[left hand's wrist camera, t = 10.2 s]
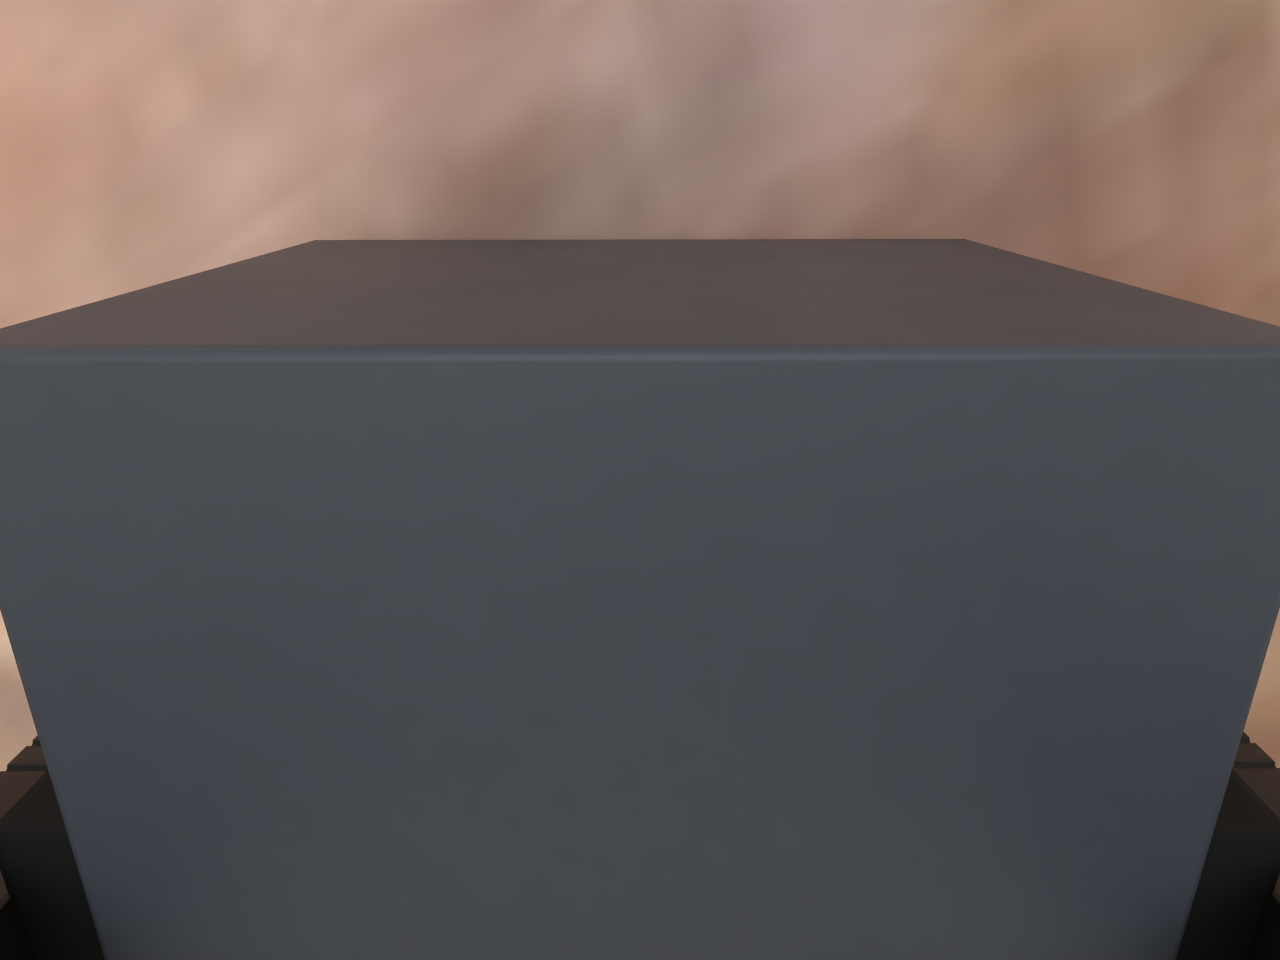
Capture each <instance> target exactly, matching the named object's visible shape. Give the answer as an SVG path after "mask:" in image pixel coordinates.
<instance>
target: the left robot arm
mask: <svg viewBox="0 0 1280 960" xmlns="http://www.w3.org/2000/svg"><path fill="white" fill-rule="evenodd" d="M0 960H105V958H104V955H103V952H102V948H101V945H100V942H99V938H98V935H97V931H96V928H95V925H94V921H93V918H92V915H91V911H90V908H89V905H88V901H87V898H86V895H85V891H84V888H83V885H82V881H81V878H80V874H79V871H78V868H77V864H76V861H75V858H74V854H73V851H72V848H71V844H70V841H69V838H68V834H67V831H66V828H65V824H64V821H63V817H62V814H61V811H60V807H59V804H58V801H57V797H56V794H55V791H54V787H53V784H52V781H51V777H50V774H49V771H48V767H47V764H46V760H45V757H44V754H43V750H42V747H41V744H40V740H39V737H38V736H37V737H36V738H35V739H34V740H33V744H32V746H26V747H25V748H24V749H23V750H22V751H21V752H20V753H19V754H18V755H17V756H16V757H15V758H14V759H13V760H12V761H11V762H10V763H9V764H8V765H7V770H6V771H1V772H0ZM1176 960H1280V768H1276V767H1275V762H1274V761H1273V760H1272V759H1271V758H1270V757H1269V756H1268V755H1267V754H1266V753H1265V752H1264V751H1263V750H1262V749H1261V748H1260V747H1259V746H1258V745H1257V744H1256V743H1250V741H1249V737H1248V736H1247V735H1246V734H1245V733H1244V732H1243V733H1242V737H1241V740H1240V743H1239V747H1238V750H1237V754H1236V757H1235V760H1234V764H1233V767H1232V771H1231V774H1230V777H1229V781H1228V784H1227V788H1226V791H1225V794H1224V798H1223V801H1222V805H1221V808H1220V811H1219V815H1218V818H1217V822H1216V825H1215V828H1214V832H1213V835H1212V839H1211V842H1210V846H1209V849H1208V852H1207V856H1206V859H1205V863H1204V866H1203V869H1202V873H1201V876H1200V880H1199V883H1198V886H1197V890H1196V893H1195V897H1194V900H1193V903H1192V907H1191V910H1190V914H1189V917H1188V920H1187V924H1186V927H1185V931H1184V934H1183V937H1182V941H1181V944H1180V948H1179V951H1178V954H1177V958H1176Z"/></svg>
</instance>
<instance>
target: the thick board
mask: <svg viewBox="0 0 1280 960" xmlns="http://www.w3.org/2000/svg"><path fill="white" fill-rule="evenodd" d="M1279 607H1280V327H1279V326H1275V325H1271V324H1268V323H1264V322H1261V321H1257V320H1253V319H1250V318H1246V317H1243V316H1239V315H1235V314H1232V313H1228V312H1225V311H1221V310H1217V309H1214V308H1210V307H1207V306H1203V305H1199V304H1196V303H1192V302H1189V301H1185V300H1181V299H1178V298H1174V297H1171V296H1167V295H1163V294H1160V293H1156V292H1153V291H1149V290H1145V289H1142V288H1138V287H1135V286H1131V285H1127V284H1124V283H1120V282H1117V281H1113V280H1109V279H1106V278H1102V277H1099V276H1095V275H1091V274H1088V273H1084V272H1081V271H1077V270H1073V269H1070V268H1066V267H1063V266H1059V265H1055V264H1052V263H1048V262H1045V261H1041V260H1037V259H1034V258H1030V257H1027V256H1023V255H1019V254H1016V253H1012V252H1009V251H1005V250H1001V249H998V248H994V247H991V246H987V245H983V244H980V243H976V242H973V241H969V240H965V239H783V240H315V241H311V242H308V243H304V244H300V245H297V246H293V247H290V248H286V249H283V250H279V251H275V252H272V253H268V254H265V255H261V256H258V257H254V258H251V259H247V260H243V261H240V262H236V263H233V264H229V265H226V266H222V267H218V268H215V269H211V270H208V271H204V272H201V273H197V274H194V275H190V276H186V277H183V278H179V279H176V280H172V281H169V282H165V283H162V284H158V285H154V286H151V287H147V288H144V289H140V290H137V291H133V292H129V293H126V294H122V295H119V296H115V297H112V298H108V299H105V300H101V301H97V302H94V303H90V304H87V305H83V306H80V307H76V308H72V309H69V310H65V311H62V312H58V313H55V314H51V315H48V316H44V317H40V318H37V319H33V320H30V321H26V322H23V323H19V324H16V325H12V326H8V327H5V328H1V329H0V610H1V613H2V616H3V620H4V623H5V626H6V630H7V633H8V636H9V640H10V643H11V646H12V650H13V653H14V657H15V660H16V663H17V667H18V670H19V673H20V677H21V680H22V683H23V687H24V690H25V693H26V697H27V700H28V703H29V707H30V710H31V714H32V717H33V720H34V724H35V727H36V730H37V734H38V737H39V740H40V744H41V747H42V750H43V754H44V757H45V760H46V764H47V767H48V771H49V774H50V777H51V781H52V784H53V787H54V791H55V794H56V797H57V801H58V804H59V807H60V811H61V814H62V817H63V821H64V824H65V828H66V831H67V834H68V838H69V841H70V844H71V848H72V851H73V854H74V858H75V861H76V864H77V868H78V871H79V874H80V878H81V881H82V885H83V888H84V891H85V895H86V898H87V901H88V905H89V908H90V911H91V915H92V918H93V921H94V925H95V928H96V931H97V935H98V938H99V942H100V945H101V948H102V952H103V955H104V958H105V960H1176V958H1177V954H1178V951H1179V948H1180V944H1181V941H1182V937H1183V934H1184V931H1185V927H1186V924H1187V920H1188V917H1189V914H1190V910H1191V907H1192V903H1193V900H1194V897H1195V893H1196V890H1197V886H1198V883H1199V880H1200V876H1201V873H1202V869H1203V866H1204V863H1205V859H1206V856H1207V852H1208V849H1209V846H1210V842H1211V839H1212V835H1213V832H1214V828H1215V825H1216V822H1217V818H1218V815H1219V811H1220V808H1221V805H1222V801H1223V798H1224V794H1225V791H1226V788H1227V784H1228V781H1229V777H1230V774H1231V771H1232V767H1233V764H1234V760H1235V757H1236V754H1237V750H1238V747H1239V743H1240V740H1241V737H1242V733H1243V730H1244V726H1245V723H1246V720H1247V716H1248V713H1249V709H1250V706H1251V703H1252V699H1253V696H1254V692H1255V689H1256V686H1257V682H1258V679H1259V675H1260V672H1261V669H1262V665H1263V662H1264V658H1265V655H1266V652H1267V648H1268V645H1269V641H1270V638H1271V635H1272V631H1273V628H1274V624H1275V621H1276V618H1277V614H1278V611H1279Z"/></svg>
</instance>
